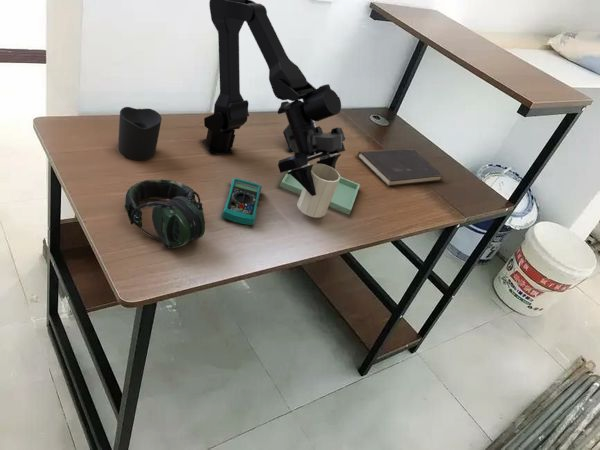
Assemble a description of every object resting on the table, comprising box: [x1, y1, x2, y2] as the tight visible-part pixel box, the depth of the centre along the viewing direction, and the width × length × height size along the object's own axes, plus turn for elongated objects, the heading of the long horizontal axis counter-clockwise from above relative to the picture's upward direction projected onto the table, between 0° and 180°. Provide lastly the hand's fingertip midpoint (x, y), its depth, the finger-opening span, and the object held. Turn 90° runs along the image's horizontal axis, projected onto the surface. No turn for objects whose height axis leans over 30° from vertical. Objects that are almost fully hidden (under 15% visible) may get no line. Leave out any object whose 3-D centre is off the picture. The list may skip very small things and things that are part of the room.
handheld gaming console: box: [282, 124, 309, 156], centre depth 152 cm, size 12×7×10 cm
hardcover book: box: [357, 148, 444, 188], centre depth 161 cm, size 16×23×2 cm
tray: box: [279, 163, 361, 216], centre depth 138 cm, size 19×14×2 cm
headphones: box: [124, 178, 206, 249], centre depth 107 cm, size 13×13×20 cm
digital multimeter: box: [221, 177, 262, 226], centre depth 121 cm, size 7×15×3 cm, turn 177°
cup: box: [296, 163, 341, 218], centre depth 122 cm, size 7×7×10 cm
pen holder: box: [117, 106, 163, 161], centre depth 124 cm, size 9×9×10 cm
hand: (323, 191), depth 121 cm, fingers closed on cup, 7 cm apart
